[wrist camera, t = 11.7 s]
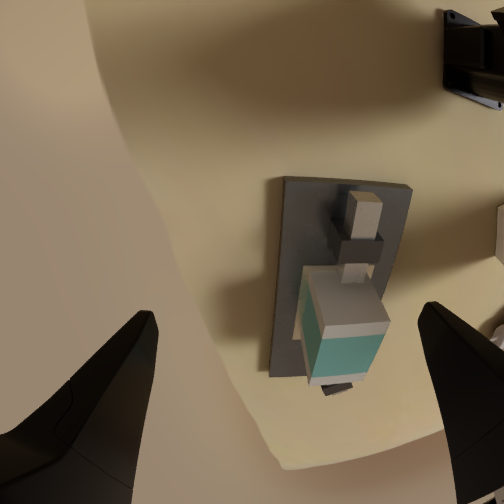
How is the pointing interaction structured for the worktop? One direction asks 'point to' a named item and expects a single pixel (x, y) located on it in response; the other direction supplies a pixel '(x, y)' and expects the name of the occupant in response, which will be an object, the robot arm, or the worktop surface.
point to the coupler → (341, 329)
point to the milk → (500, 235)
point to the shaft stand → (330, 251)
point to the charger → (498, 337)
